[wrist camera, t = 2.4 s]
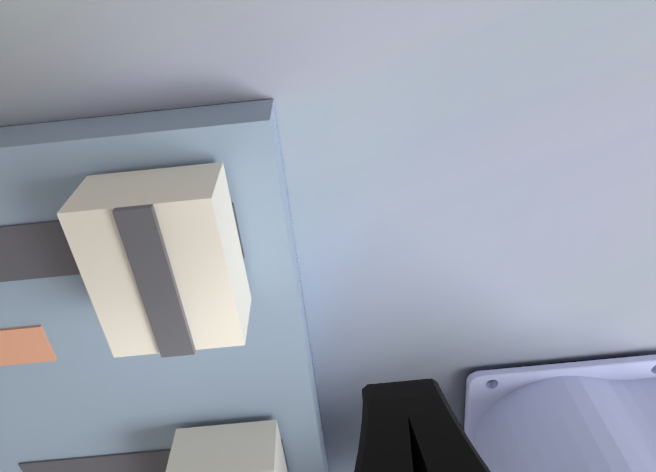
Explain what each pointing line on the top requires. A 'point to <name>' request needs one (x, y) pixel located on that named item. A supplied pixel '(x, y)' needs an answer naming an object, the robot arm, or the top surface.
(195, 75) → the top surface
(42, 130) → the switch unit
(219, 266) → the knob
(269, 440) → the knob
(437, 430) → the robot arm
